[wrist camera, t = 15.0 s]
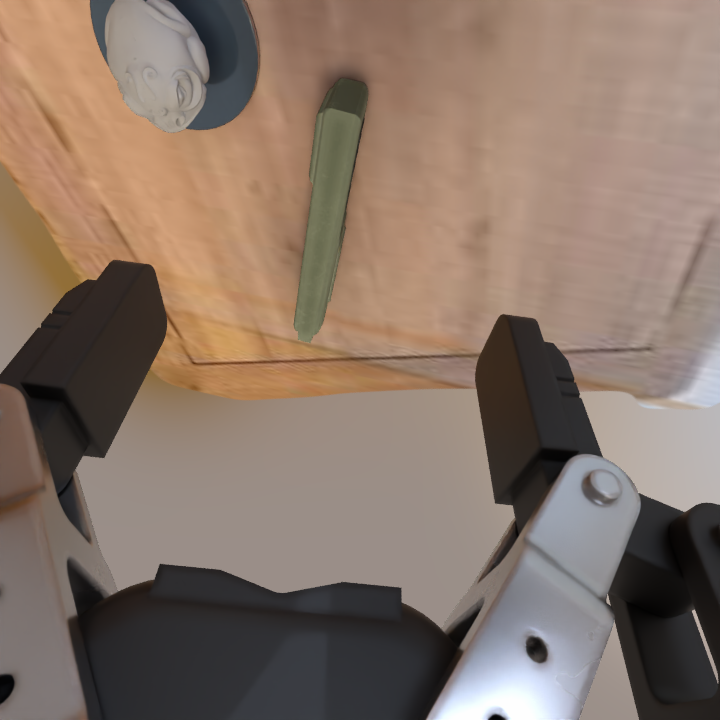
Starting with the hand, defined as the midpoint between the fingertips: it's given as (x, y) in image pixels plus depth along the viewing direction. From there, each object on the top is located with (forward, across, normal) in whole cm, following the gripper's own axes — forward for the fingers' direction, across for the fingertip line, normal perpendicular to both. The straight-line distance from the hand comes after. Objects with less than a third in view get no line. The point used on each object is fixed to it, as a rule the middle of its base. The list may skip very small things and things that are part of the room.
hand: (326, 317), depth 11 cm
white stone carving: (+28, +13, +2) cm, 31 cm away
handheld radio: (+28, +2, +15) cm, 32 cm away
